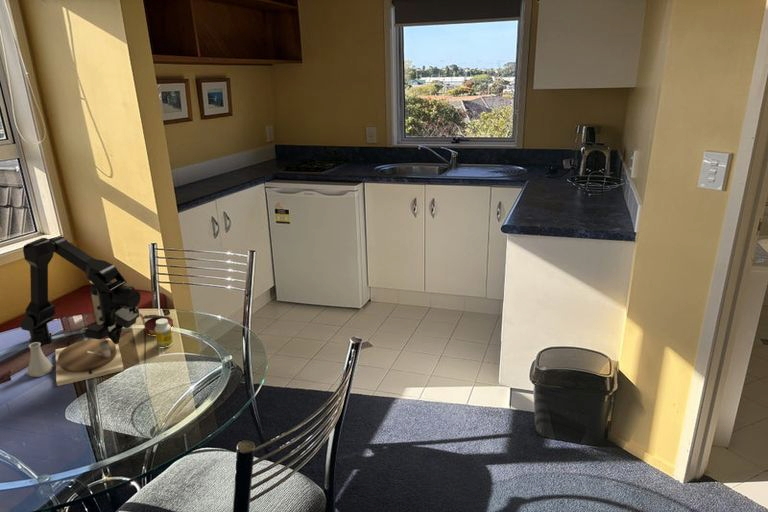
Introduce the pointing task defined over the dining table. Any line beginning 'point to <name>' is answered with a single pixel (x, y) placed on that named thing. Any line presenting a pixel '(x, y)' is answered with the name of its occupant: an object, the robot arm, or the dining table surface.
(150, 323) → the dark red handled pot
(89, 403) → the dining table surface
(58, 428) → the dining table surface
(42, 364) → the flask
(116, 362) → the stand
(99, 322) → the travel mug
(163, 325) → the supplement bottle
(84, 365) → the knobbed disc on base
